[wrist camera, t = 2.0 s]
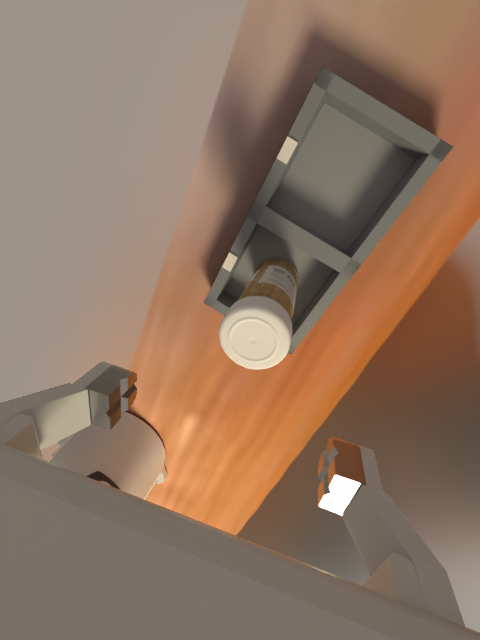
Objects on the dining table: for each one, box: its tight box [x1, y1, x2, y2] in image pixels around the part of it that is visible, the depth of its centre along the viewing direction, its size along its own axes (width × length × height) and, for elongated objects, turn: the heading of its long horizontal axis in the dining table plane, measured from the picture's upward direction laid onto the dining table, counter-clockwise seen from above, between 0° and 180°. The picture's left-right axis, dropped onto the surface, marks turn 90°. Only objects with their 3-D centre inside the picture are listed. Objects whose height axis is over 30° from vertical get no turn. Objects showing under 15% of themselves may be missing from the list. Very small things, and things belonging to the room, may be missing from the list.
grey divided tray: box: [204, 66, 453, 354], centre depth 25 cm, size 20×10×4 cm, turn 152°
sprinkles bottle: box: [219, 258, 298, 369], centre depth 23 cm, size 5×5×13 cm
